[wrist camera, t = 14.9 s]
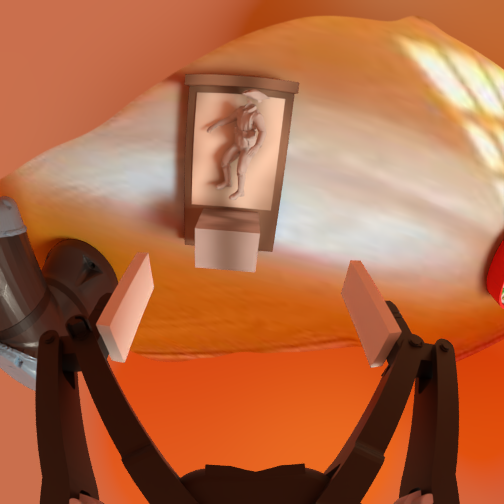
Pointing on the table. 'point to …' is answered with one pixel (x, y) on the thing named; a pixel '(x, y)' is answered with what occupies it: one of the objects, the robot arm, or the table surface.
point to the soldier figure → (243, 140)
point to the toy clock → (497, 276)
